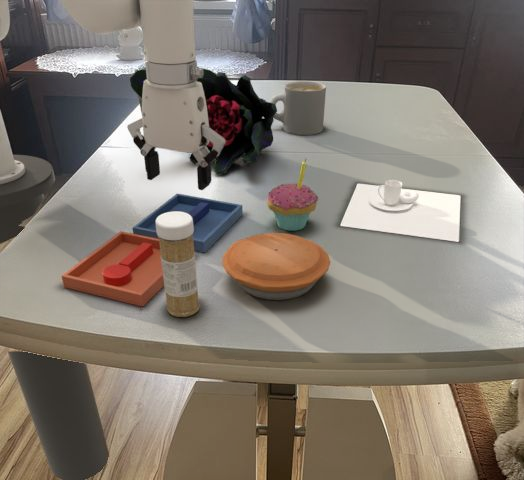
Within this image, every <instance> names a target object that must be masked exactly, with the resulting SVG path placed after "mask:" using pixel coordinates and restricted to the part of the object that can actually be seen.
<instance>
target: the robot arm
mask: <svg viewBox="0 0 524 480" xmlns="http://www.w3.org/2000/svg"><path fill="white" fill-rule="evenodd" d="M59 2H60V3H61V5H62V6H63V8H64V9H65V11H67V13H68V14H69V15H70V17H71V18H72V19H73V21H75V22H76V23H77V24H78V25H79V26H80V27H81V28H82V29H83V30H85V31H86V32H88V33H91V34H92V35H97V36H105V35H111V34H114V33H117V32H122V31H124V30H125V31H126V30H131V29H135V28H139V27H141V33H142V46H144V51H143V55H144V56H145V57H144V65H145V67H146V78H147V79H146V80H145V81H144V84H143V93H142V113H141V118H139V119H137V120H135V121H132V122H131V123H129V124H128V125H127V126H126V127H127V130H128V132H129V134H130V136H131V138H132V139H133V140H132V141H133V143H134V145H135V146H136V147H137V148H138V150H140V151H139V152H140V155H141V156H143V159H144V168H145V172H146V178H147V180H148V181H152V180H154V179H155V178H157V177H158V176H160V174H161V169H160V168H161V167H160V156H159V155H160V154H159V152H158V151H157V150H156V149H162V150H167V151H174V152H179V153H183V154H193V155H194V157H195V158H196V159H197V161H198V164H199V165H198V166H197V168H196V174H197V175H196V176H197V189H198V190H199V191H204V190H205V189H206V188H208V187H209V186H210V184H211V182H212V163H213V162H215V160H216V158H217V157H218V156H219V155H220V153H221V151H222V149H223V147H224V145H225V142H226V140H225V139H224V138H223V137H222V136H220V135H219V134H218V133H216V132H215V131H214V130H212V129H211V128H210V127H209V121H208V112H207V105H206V100H205V95H204V90H203V86H202V83H201V82H197V79H198V78H202V77H203V75H204V70H203V69H204V68H203V67H199V66H198V61H197V59H196V33H195V10H194V0H59ZM10 24H11V15H10V6H9V0H0V41H2V40H3V39H5V38H6V37H7V35H8V34H9V31H10V26H11V25H10ZM145 67H144V68H145ZM141 128H142V131H141ZM142 132H143V134H142ZM9 139H10V138H9V136H8V132H7V128H6V124H5V121H4V118H3V114H2V111H1V109H0V185H1V184H5V183H9V182H11V181H14V180H16V179H18V178H20V177H21V176H22V175H24V173H25V167H24V164H23V163H21V162H20V161H17V160H14V157H13V155H14V154H13V151H12V147H11V142H10V140H9ZM209 141H211V142H212V143H213V148H212V150H211V152H210V151H209V150H208V148H207V147H206V146H207V145H208V144H209Z"/></svg>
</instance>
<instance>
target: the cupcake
mask: <svg viewBox="0 0 524 480" xmlns="http://www.w3.org/2000/svg"><path fill="white" fill-rule="evenodd" d="M307 159H308V158H307V157H305V158H304V161H302V162H301V168H300V172H299V177H298V180H297V182H295V183H282V184H279V185H277V186H275V187H274V188H272V189H271V190H270V191H268V195H267V198H266V203H267V209H269V211H272V212H273V215H274V217H275V219H276V223H277V226H278V227H279V228H280V229H281V230H284V231H290V232H296V231H300V230H303V229H304V228H305V227H306V225H307V221H308V219H309V216H310V215H311V213H312V212H314V211H315V210H316V209H317V205H318V201H319V197H318V196H317V194H316V193H315V192H314V190H313V189H311V188H310V187H309V186H307V185H305V184H303V181H304V176H305V171H306V168H307V162H306V161H307Z"/></svg>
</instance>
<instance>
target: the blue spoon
mask: <svg viewBox="0 0 524 480" xmlns="http://www.w3.org/2000/svg"><path fill="white" fill-rule="evenodd" d="M208 212H209V204H208V203H203V202H201V203H199V204H198V205H197V206H196V207H195V208H193V209H192V210H191V211H190V212H189V213H187V214H189V215H191V217H192V219H193V226H194V225H195V224H196V223H197V222H198V221H199V220H201V219H202V218H203V217H204V216H205V215H206V214H207V213H208Z"/></svg>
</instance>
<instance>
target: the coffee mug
mask: <svg viewBox="0 0 524 480" xmlns="http://www.w3.org/2000/svg"><path fill="white" fill-rule="evenodd" d="M326 93H327V85H325V84H324V83H322V82H318V81H311V80H296V81H291V82H288V83H286V84H284V93H277V94H275V95H272V97H271V99H270V103H273V104H275V105H276V106H277V103H278V102H280V101H281V102H282V104H283V108H282V111H281V112H280V113H278V112H276V113H275V115H274V117H273V119H274V120H275V121H278V122H280V123H282V124H283V131H284V132H286V133H288V134H292V135H298V136H311V135H316V134H317V135H318V134H319V133H322V132H323V131H324V121H325V106H326V96H327V95H326Z"/></svg>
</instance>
